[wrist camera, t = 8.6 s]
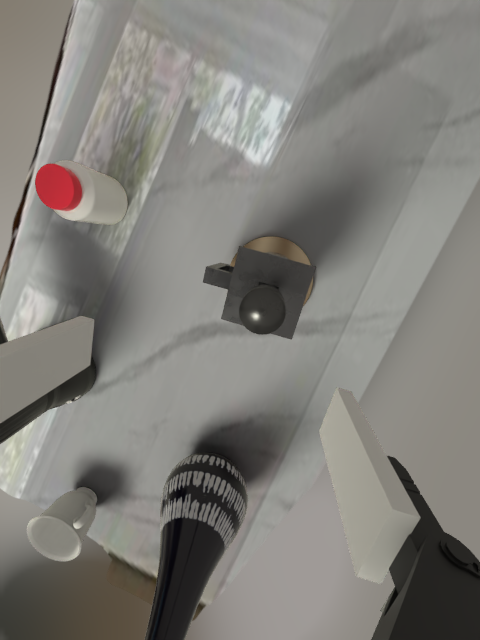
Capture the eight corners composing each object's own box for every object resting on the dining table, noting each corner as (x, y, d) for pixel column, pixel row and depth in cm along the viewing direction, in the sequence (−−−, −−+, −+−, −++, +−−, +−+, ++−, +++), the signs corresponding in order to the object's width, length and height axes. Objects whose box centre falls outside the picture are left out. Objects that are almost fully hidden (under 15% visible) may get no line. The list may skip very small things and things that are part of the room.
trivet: (220, 307, 47) (219, 309, 47) (240, 226, 43) (239, 226, 43) (297, 330, 47) (297, 331, 46) (324, 249, 43) (325, 249, 42)
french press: (216, 294, 46) (193, 311, 33) (229, 239, 43) (209, 236, 31) (288, 314, 45) (292, 340, 33) (305, 260, 43) (317, 266, 30)
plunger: (240, 298, 43) (212, 338, 24) (252, 253, 41) (231, 259, 22) (284, 311, 42) (290, 361, 24) (298, 266, 40) (317, 282, 22)
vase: (166, 477, 59) (66, 686, 31) (194, 423, 55) (105, 613, 26) (231, 509, 59) (189, 749, 31) (264, 459, 54) (250, 686, 26)
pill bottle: (77, 187, 45) (16, 169, 35) (115, 167, 44) (63, 142, 33) (98, 232, 47) (46, 227, 36) (135, 214, 45) (92, 204, 35)
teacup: (128, 500, 63) (101, 546, 53) (86, 522, 66) (54, 569, 57) (94, 462, 61) (60, 503, 51) (53, 487, 65) (14, 529, 55)
